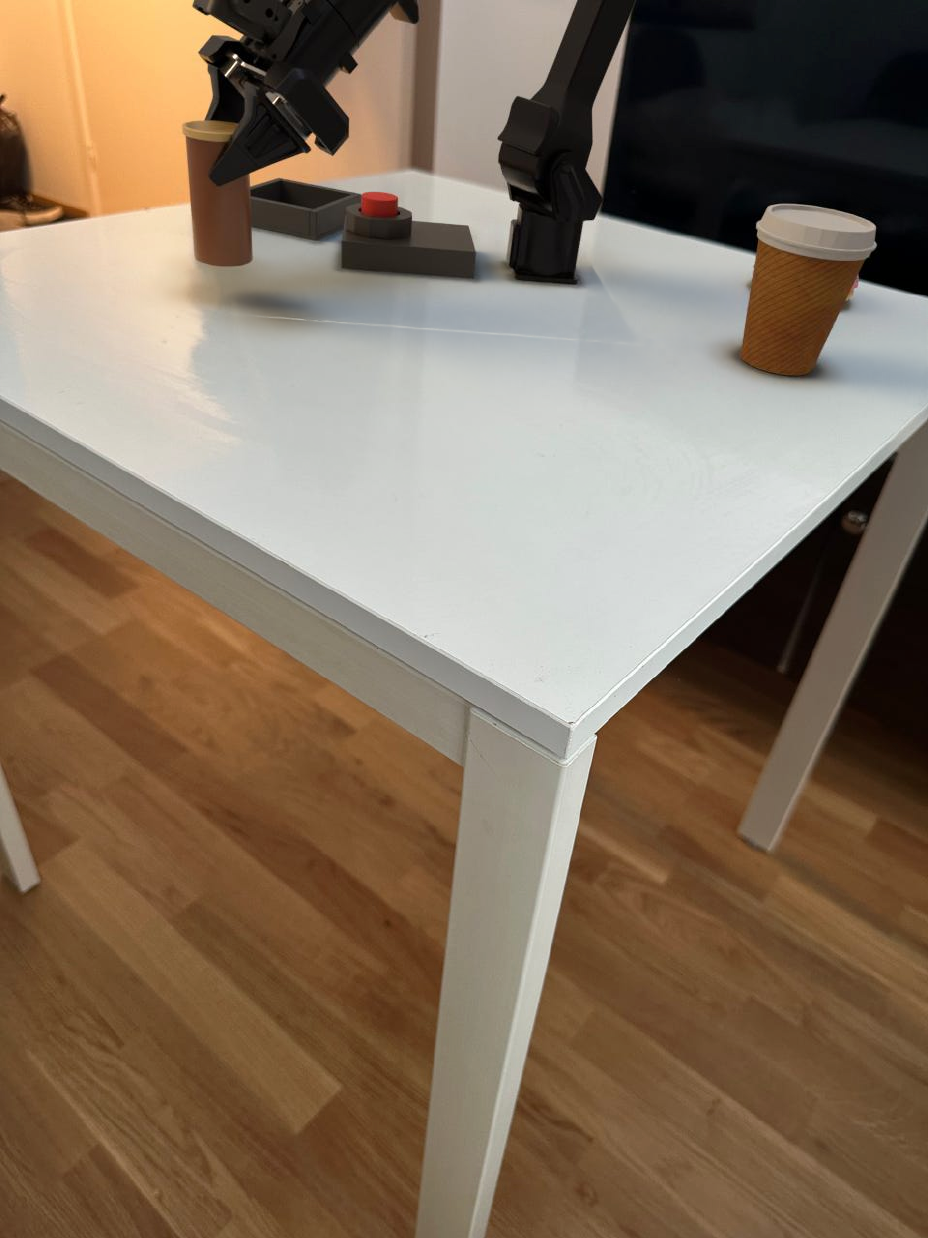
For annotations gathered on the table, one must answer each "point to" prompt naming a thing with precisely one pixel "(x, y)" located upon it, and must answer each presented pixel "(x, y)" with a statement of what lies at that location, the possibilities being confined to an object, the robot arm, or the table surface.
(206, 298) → the table surface
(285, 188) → the tray
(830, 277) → the disposable coffee cup
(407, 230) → the red button box
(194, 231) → the brown cup
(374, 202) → the brew button
